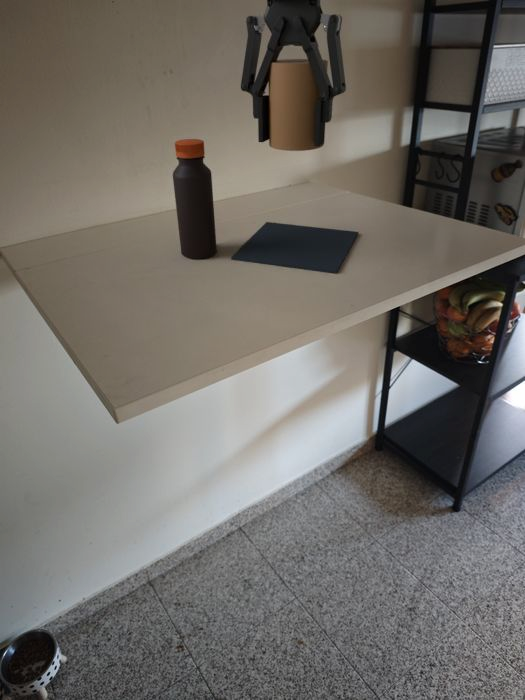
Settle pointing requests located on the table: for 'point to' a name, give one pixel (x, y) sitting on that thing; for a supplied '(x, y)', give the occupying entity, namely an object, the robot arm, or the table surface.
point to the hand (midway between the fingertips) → (291, 142)
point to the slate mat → (298, 247)
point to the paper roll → (292, 105)
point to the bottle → (194, 200)
